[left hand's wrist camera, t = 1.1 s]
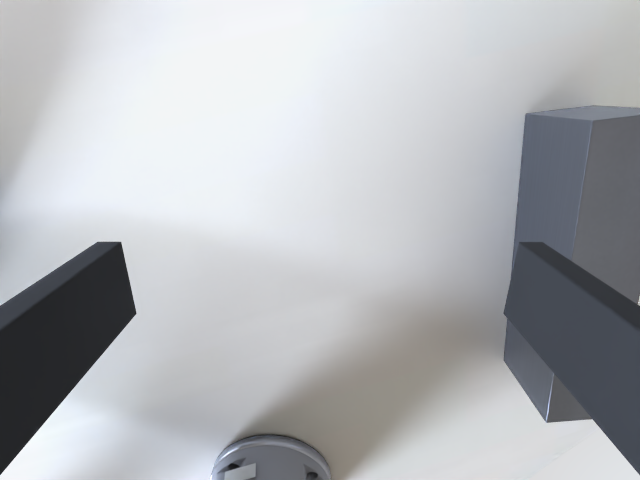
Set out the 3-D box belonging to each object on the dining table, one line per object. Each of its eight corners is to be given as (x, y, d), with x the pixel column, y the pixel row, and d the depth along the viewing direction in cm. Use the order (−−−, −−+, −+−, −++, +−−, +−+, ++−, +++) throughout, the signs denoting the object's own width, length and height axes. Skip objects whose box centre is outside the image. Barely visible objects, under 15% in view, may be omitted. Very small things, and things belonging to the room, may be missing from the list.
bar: (555, 355, 40) (610, 417, 33) (503, 360, 41) (546, 423, 33) (593, 105, 31) (684, 109, 23) (525, 113, 31) (592, 120, 23)
